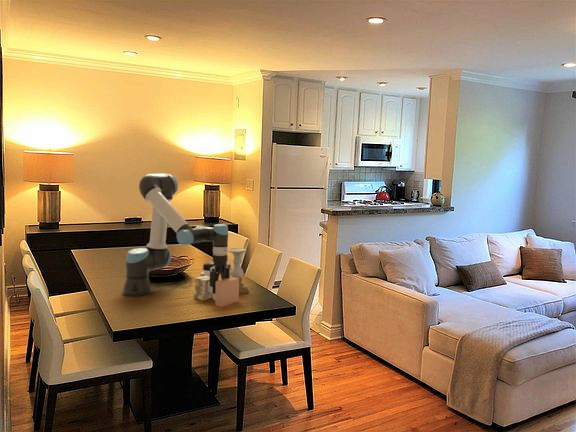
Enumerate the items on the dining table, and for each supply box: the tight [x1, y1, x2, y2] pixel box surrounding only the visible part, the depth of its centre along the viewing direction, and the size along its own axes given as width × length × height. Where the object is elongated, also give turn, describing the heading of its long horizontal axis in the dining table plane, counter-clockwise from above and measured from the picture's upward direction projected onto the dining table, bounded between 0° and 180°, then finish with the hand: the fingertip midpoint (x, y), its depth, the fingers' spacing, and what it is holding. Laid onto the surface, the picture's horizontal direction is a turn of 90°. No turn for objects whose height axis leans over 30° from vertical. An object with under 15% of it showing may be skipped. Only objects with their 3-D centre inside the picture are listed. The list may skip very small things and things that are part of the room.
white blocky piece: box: [193, 276, 213, 301], centre depth 263 cm, size 7×10×11 cm
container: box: [199, 262, 214, 277], centre depth 287 cm, size 8×8×13 cm
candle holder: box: [228, 247, 250, 295], centre depth 275 cm, size 11×11×24 cm
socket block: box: [214, 276, 240, 308], centre depth 253 cm, size 4×13×12 cm, turn 144°
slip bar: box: [206, 281, 213, 293], centre depth 257 cm, size 15×5×5 cm, turn 54°
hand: (219, 298), depth 257 cm, fingers closed on slip bar, 5 cm apart
